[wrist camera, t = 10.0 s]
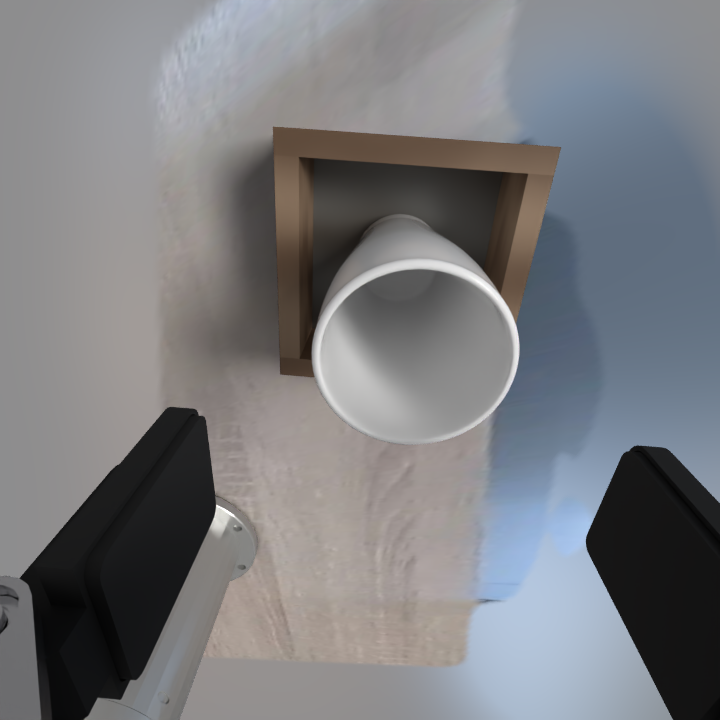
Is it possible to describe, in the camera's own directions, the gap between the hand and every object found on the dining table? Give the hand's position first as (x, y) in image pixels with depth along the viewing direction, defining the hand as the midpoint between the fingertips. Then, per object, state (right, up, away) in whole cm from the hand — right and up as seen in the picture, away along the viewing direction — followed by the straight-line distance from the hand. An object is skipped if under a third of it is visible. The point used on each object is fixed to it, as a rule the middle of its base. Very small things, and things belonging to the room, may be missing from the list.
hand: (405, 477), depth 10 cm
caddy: (+2, +10, +18) cm, 20 cm away
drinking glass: (+1, +9, +17) cm, 20 cm away
